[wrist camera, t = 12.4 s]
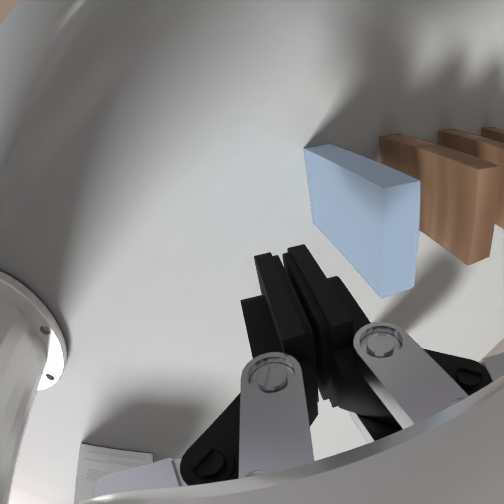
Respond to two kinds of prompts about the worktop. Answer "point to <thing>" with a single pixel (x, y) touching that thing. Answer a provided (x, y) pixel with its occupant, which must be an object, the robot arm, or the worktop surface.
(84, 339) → the worktop surface
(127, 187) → the worktop surface
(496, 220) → the tile
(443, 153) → the tile
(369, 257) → the tile
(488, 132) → the tile
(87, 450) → the supplement box
